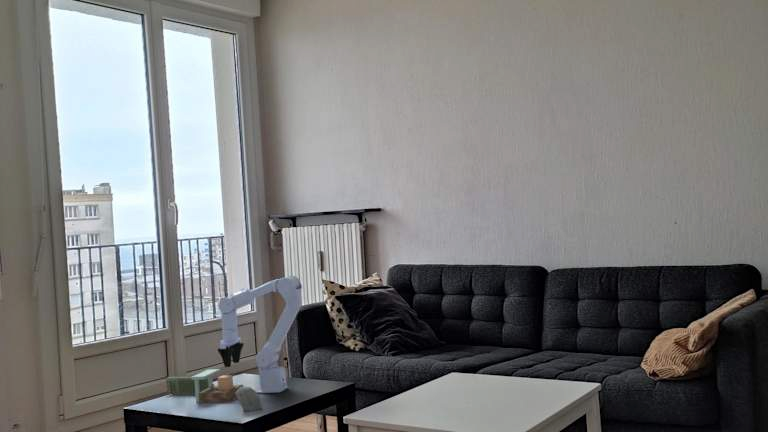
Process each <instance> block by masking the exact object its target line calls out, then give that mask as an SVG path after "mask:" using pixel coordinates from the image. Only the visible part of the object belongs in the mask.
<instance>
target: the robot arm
mask: <svg viewBox="0 0 768 432" xmlns="http://www.w3.org/2000/svg"><path fill="white" fill-rule="evenodd" d="M302 289H303V285H302V283H301V280H300V279H299V278H298V276H295V275H288V276H286V277H282V278H279V279H278V278H277V279H273V280H270V281H268V282H266V283H264V284H262V285H259V286H258V287H256V288H254V289H253V288H252V289H249V288H241V289H240V291H238V292H235V293H231V294H229V296H227V297H223V298H222V299H220V300H219V302H218V303H217V304H218V310H219V311H220V313H221V329H222V331H221V333H222V340H220V341H219V348H217V352H218V353H219V355H220V357H221V359H222V362H223V366H224V367H225V368H230V367H232V362H233V364H238V363H239V362H240V358H241V353H242V350H243V348H244V345H245V344H244V342H242V337H241V336H240V337H239V331H238V328H239V327H238V315H237V310H238V309H242V308H243V307H245V306H247V305H248V306H249V305H251V304H253V303H254V302H255V299H256V298H258V297H261V296H263V295H265V294H268V293H271V292H274V293H279V294H280V295H281V297H282V298H283V299H284V302H285V304H286V305H285V307H284V309H283V312H282V313H281V315H280V317H279V319H278V321H277V323H276V325H275V326H274V329H273V331H272V332H271V334H270V337H269V339H268V340H267V342H266V343H265V344H264V345H263V348H262V349H261V350H260V351H259V352H258V353H257V354H256V355H255V364H256V365H257V366H258V373H259V374H258V375H259V384H260V386H259V387H260V389H259V390H257V391H256V392H257V394H269V393H274V394H275V393H281V392H283V391H285V390H286V389H288V388H289V387H288V383H287V373H286V368H285V367H284V366H279V363H278V361H279V359H280V353H281V350H282V344H283V343H284V340H285V338H286V337H287V334H288V333H289V331H290V328H292V327H291V326H292V325H293V323H294V321H295V319H296V317H297V314H298V313H299V311H300V309H301V307H302V305H303V304H302V303H303V297H302Z"/></svg>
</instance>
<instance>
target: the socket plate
mask: <svg viewBox="0 0 768 432" xmlns="http://www.w3.org/2000/svg"><path fill="white" fill-rule="evenodd" d="M241 386H242V387H244V384H233V389H231V390H223V391H219V390H218V384H216V385H215V384H214V386H212V387H210V388H208V389H206V390H204V391H202V392H200V393H198V394H199V402H198V403H199V404H202V403H206V404H207V403H230V402H232V401H234V400H235V399H238V398H237V396H236V394H235V392H236V391H237V390H238V388H240V387H241Z"/></svg>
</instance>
